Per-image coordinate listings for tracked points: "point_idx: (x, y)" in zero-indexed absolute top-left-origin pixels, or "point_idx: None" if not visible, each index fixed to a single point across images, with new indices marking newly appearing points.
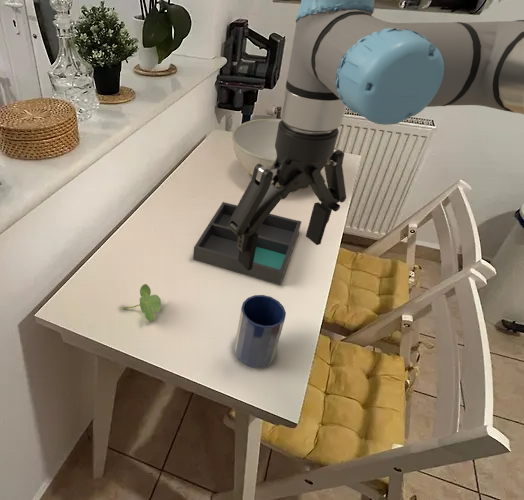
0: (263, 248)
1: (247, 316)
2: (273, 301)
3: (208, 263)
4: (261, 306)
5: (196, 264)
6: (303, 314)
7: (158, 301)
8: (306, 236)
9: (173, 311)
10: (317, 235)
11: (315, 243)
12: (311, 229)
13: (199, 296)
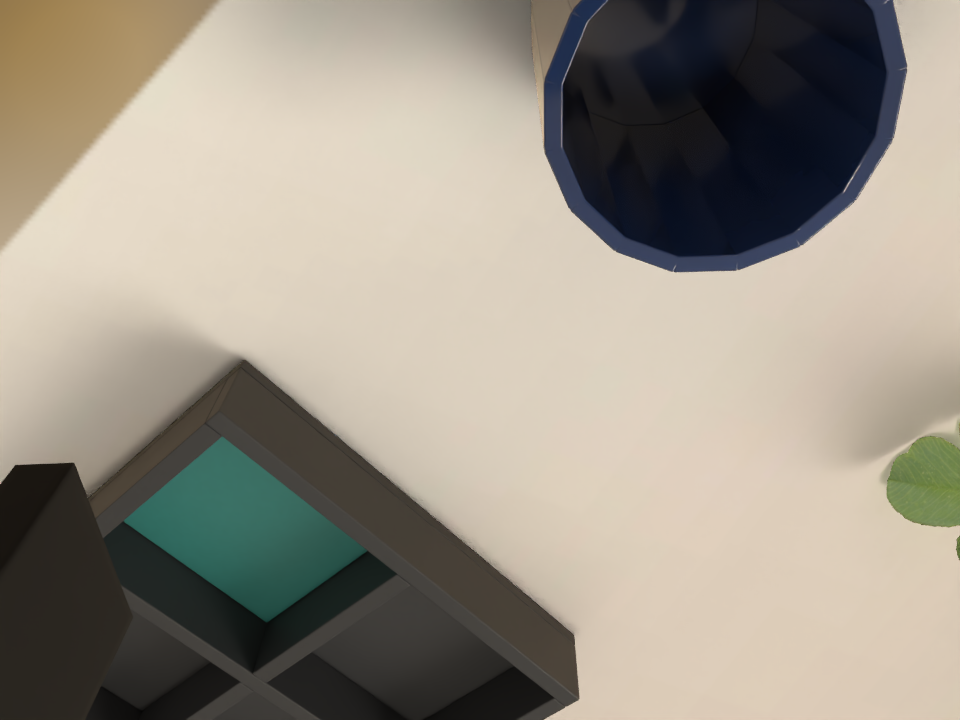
0: (209, 583)
1: (687, 184)
2: (571, 168)
3: (522, 593)
4: (610, 195)
5: (577, 605)
6: (221, 134)
7: (905, 485)
8: (127, 612)
9: (859, 412)
10: (21, 591)
11: (79, 492)
12: (54, 696)
13: (684, 444)
